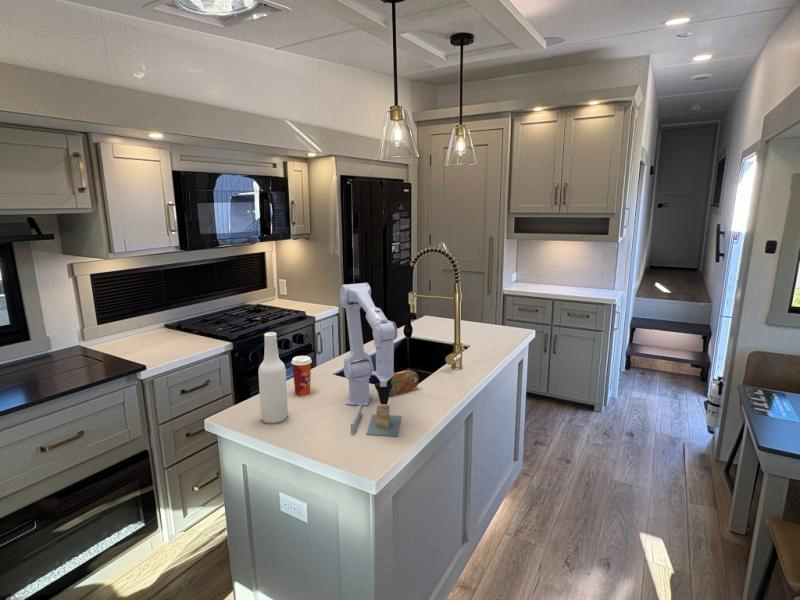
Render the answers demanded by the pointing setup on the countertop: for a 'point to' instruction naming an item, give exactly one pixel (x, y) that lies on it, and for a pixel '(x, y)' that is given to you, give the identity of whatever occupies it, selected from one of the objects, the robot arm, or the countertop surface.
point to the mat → (383, 431)
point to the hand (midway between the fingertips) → (384, 399)
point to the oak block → (382, 416)
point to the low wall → (356, 419)
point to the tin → (404, 382)
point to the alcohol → (272, 383)
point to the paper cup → (302, 374)
